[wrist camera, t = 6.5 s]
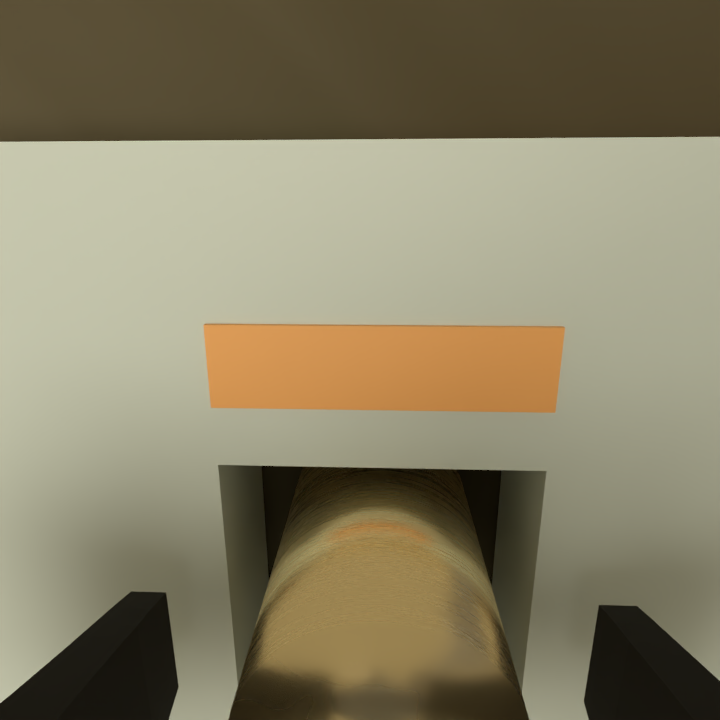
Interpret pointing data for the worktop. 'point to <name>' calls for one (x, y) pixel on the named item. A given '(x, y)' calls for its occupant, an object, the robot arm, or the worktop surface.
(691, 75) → the worktop surface
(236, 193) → the plate
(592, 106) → the worktop surface
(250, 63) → the worktop surface
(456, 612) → the cylinder
